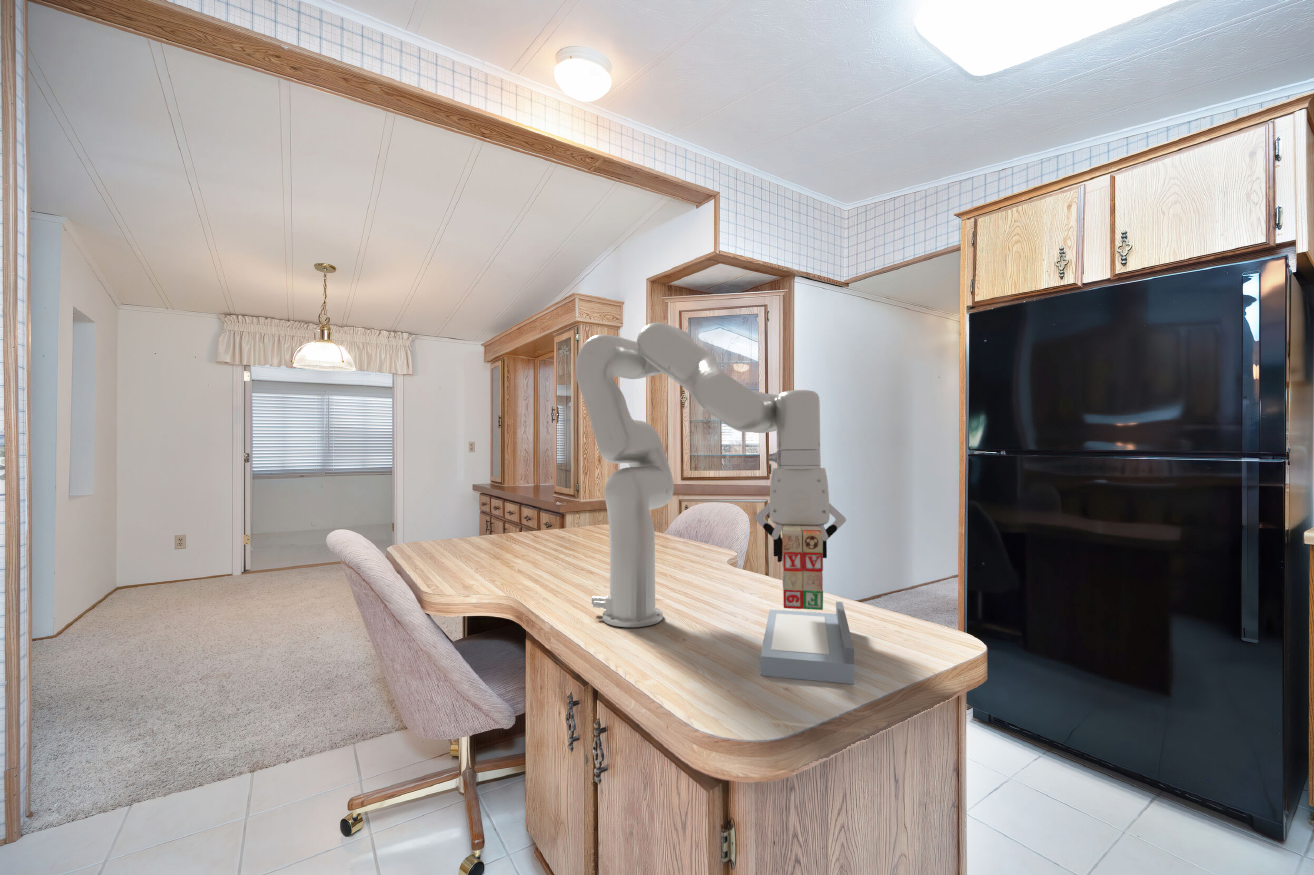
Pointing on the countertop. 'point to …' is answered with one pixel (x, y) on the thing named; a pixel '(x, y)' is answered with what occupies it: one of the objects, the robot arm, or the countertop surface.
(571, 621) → the countertop surface
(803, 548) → the stack of blocks
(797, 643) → the tray
